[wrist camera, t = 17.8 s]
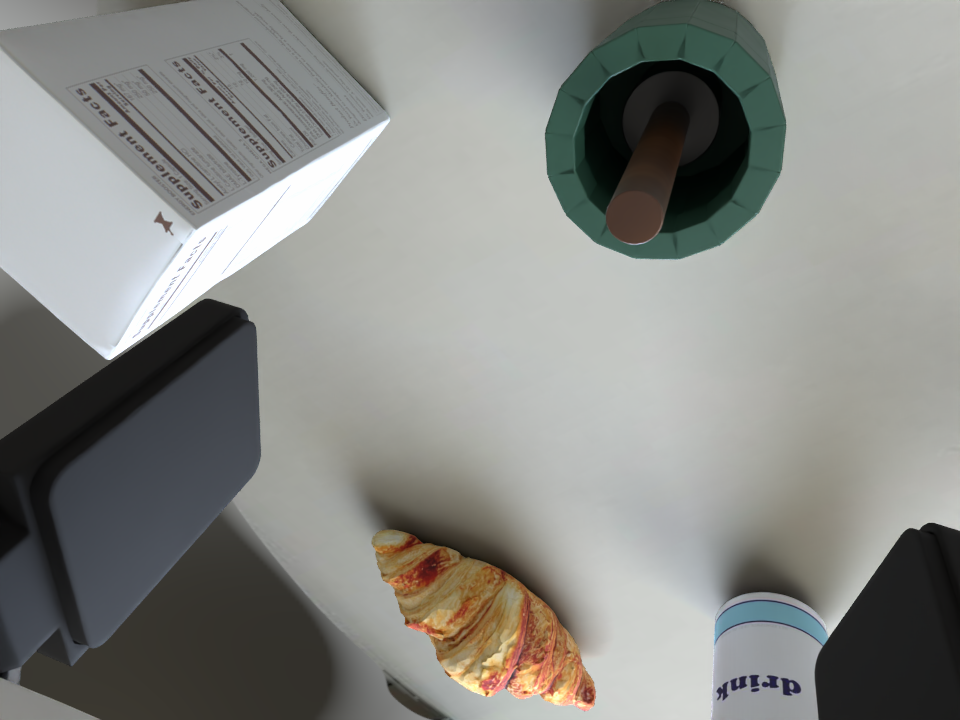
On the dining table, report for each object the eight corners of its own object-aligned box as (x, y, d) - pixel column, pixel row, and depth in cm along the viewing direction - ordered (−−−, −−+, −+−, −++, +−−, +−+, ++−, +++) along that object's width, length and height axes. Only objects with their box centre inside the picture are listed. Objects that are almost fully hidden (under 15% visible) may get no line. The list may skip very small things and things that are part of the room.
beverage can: (803, 572, 45) (820, 751, 35) (841, 646, 47) (867, 834, 37) (699, 589, 48) (688, 757, 39) (738, 657, 50) (737, 832, 41)
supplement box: (267, -19, 36) (-20, 16, 23) (397, 116, 38) (201, 225, 24) (190, 114, 42) (-80, 208, 28) (306, 228, 43) (104, 368, 30)
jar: (557, 102, 35) (502, 156, 27) (684, -46, 30) (662, -35, 22) (675, 215, 36) (655, 300, 28) (814, 89, 31) (839, 147, 23)
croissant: (386, 510, 59) (327, 593, 55) (411, 489, 50) (343, 588, 46) (587, 657, 60) (541, 748, 56) (647, 663, 51) (598, 772, 47)
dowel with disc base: (615, 104, 34) (535, 217, 21) (679, 35, 31) (635, 113, 18) (674, 162, 34) (633, 309, 21) (741, 99, 32) (741, 218, 19)
